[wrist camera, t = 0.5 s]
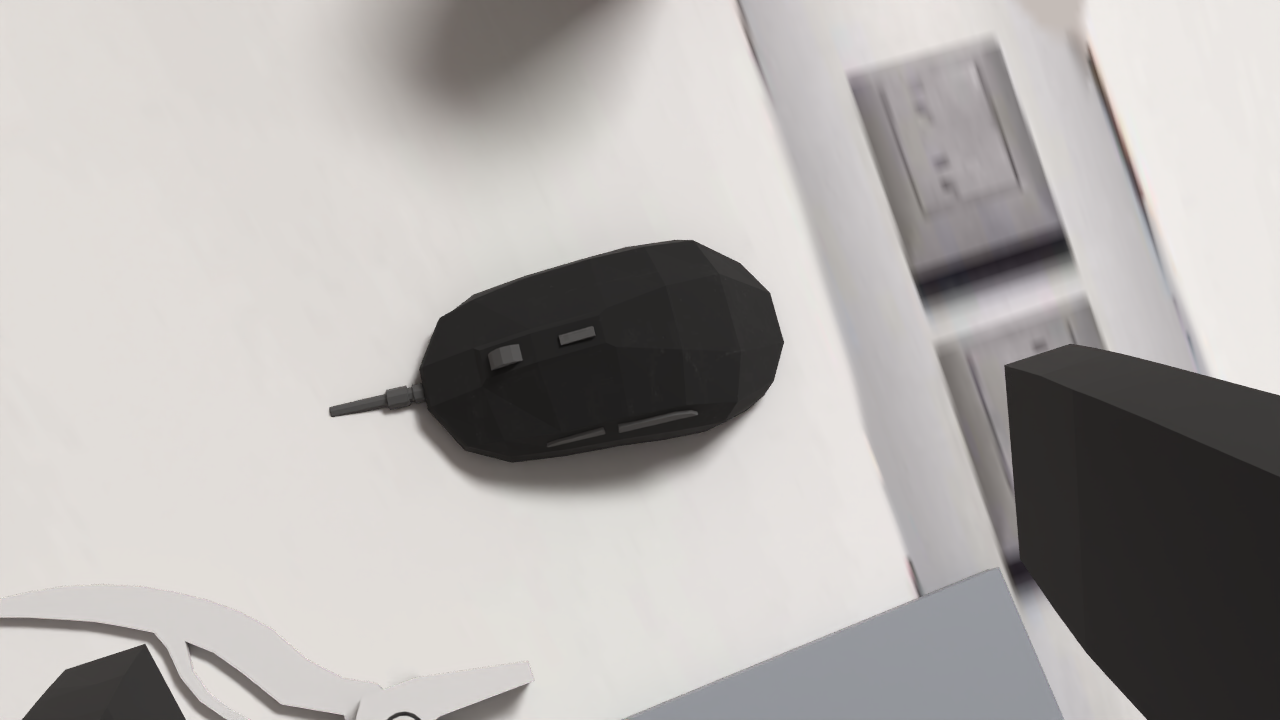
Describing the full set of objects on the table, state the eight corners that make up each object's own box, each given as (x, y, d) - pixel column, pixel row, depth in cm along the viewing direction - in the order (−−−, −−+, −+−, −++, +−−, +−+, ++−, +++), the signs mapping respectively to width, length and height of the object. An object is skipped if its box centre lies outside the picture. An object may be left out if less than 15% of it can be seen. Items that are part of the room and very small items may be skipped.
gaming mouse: (312, 319, 37) (301, 279, 33) (744, 241, 41) (778, 196, 37) (350, 512, 36) (343, 492, 32) (793, 413, 39) (834, 385, 36)
